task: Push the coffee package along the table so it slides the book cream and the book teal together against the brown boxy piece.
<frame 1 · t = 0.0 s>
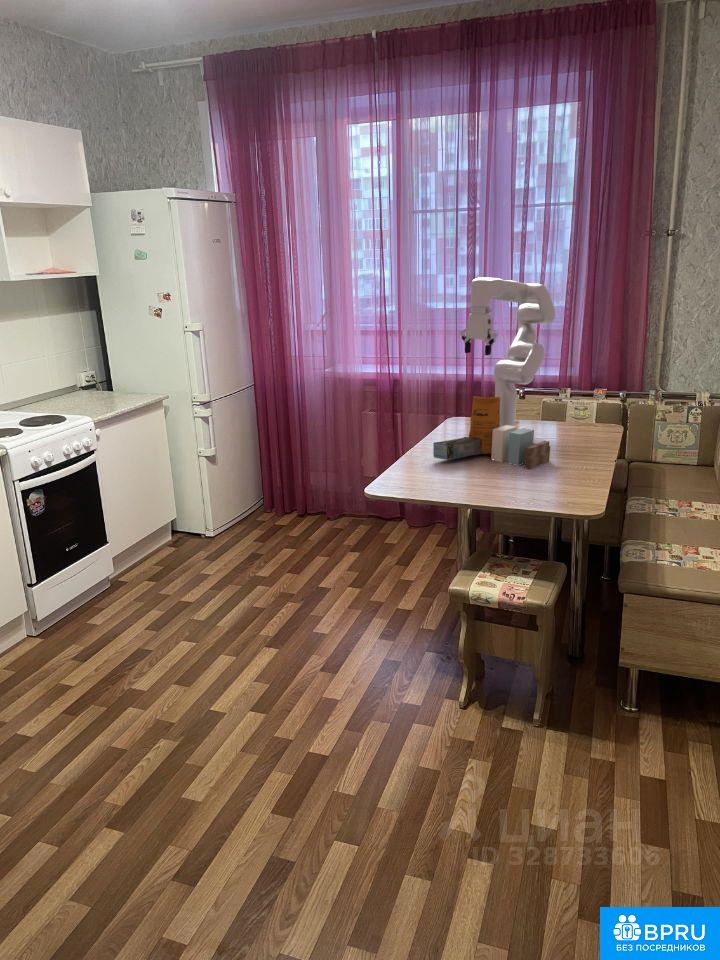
hand: (477, 353, 301), 37 cm above the table, tool pointing down, fingers open, 9 cm apart
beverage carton: (457, 456, 284), point 1 cm above the table, touching coffee package
coffee package: (483, 452, 292), point 1 cm above the table, touching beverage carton
book cream: (503, 458, 287), on the table
book teal: (519, 461, 282), on the table
brown boxy piece: (517, 461, 282), on the table
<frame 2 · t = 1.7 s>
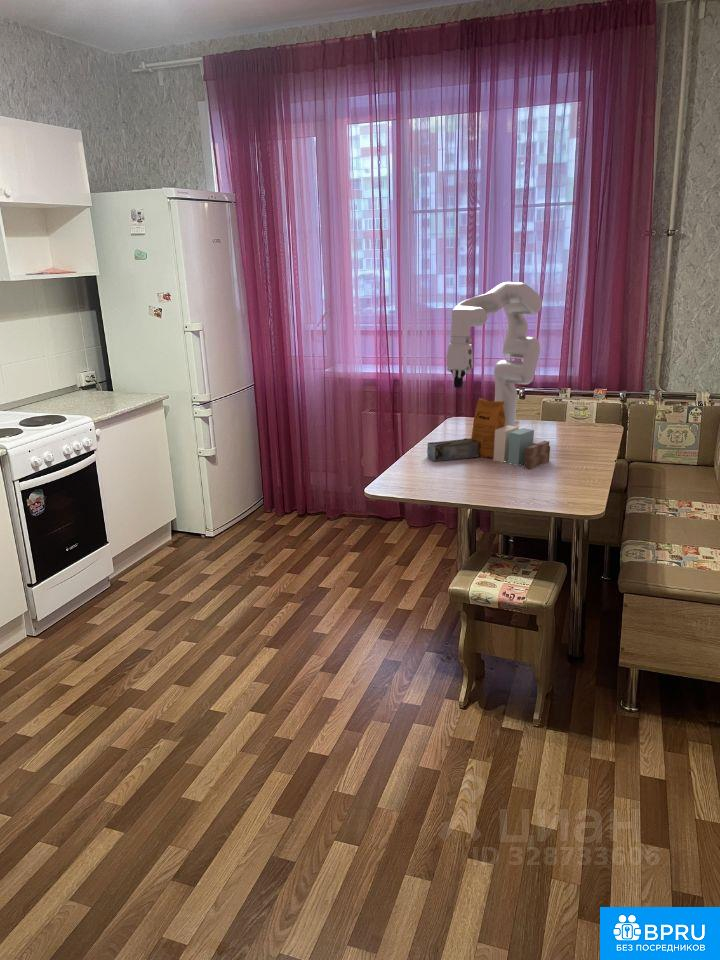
hand: (458, 387, 294), 25 cm above the table, tool pointing down, fingers closed
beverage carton: (452, 457, 287), on the table, touching coffee package
coffee package: (486, 454, 292), on the table, touching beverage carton
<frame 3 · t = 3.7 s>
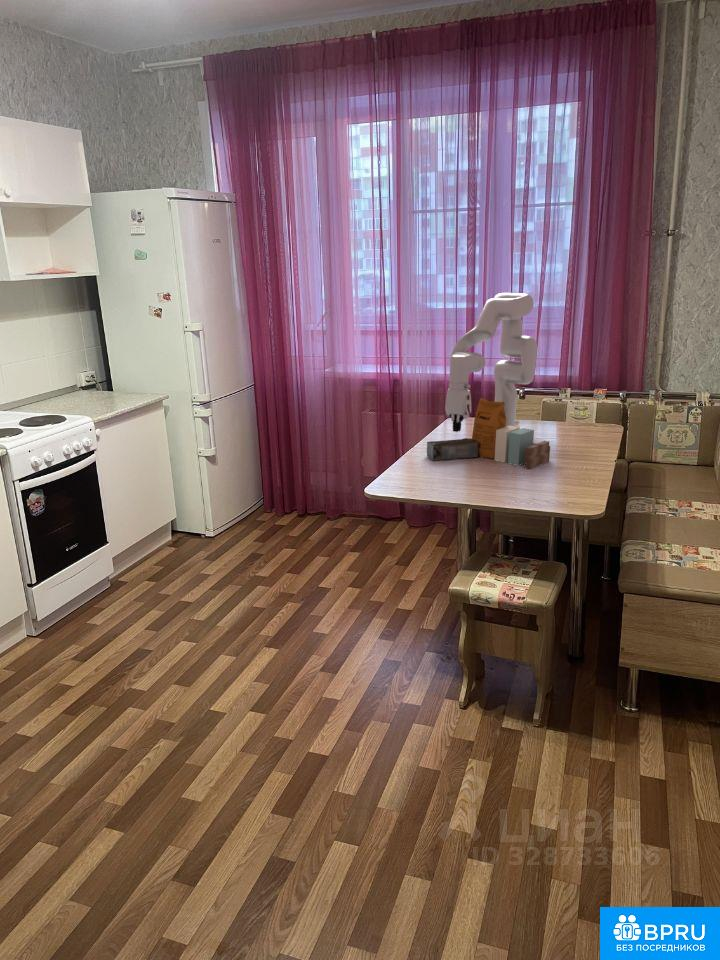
hand: (456, 430, 299), 7 cm above the table, tool pointing down, fingers closed
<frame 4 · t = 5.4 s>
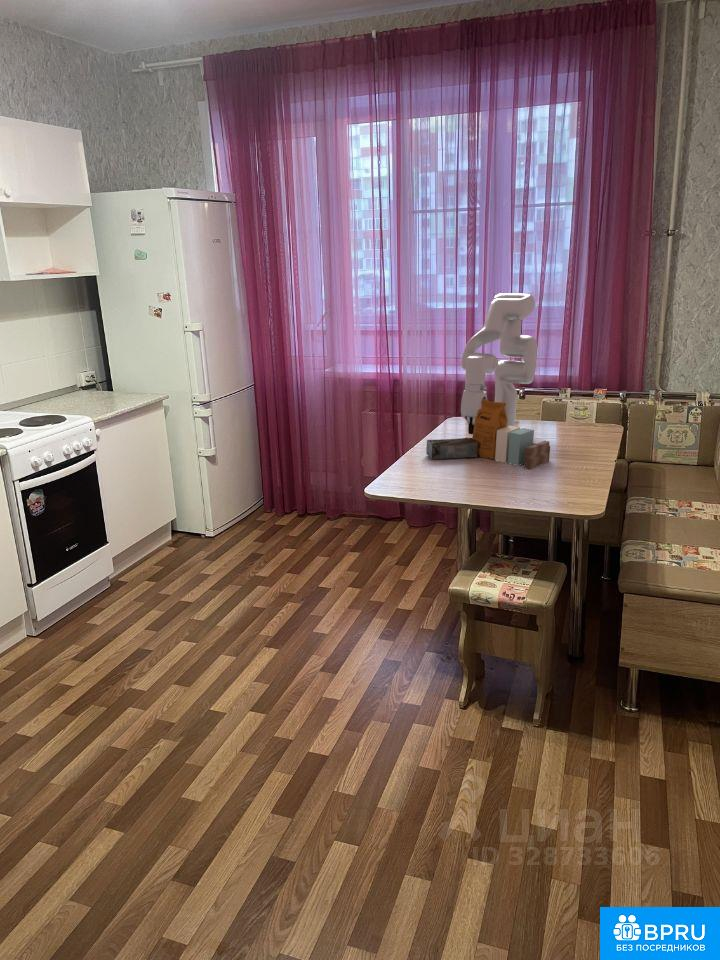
hand: (472, 433, 294), 7 cm above the table, tool pointing down, fingers closed
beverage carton: (451, 456, 288), on the table, touching coffee package
coffee package: (487, 455, 291), on the table, touching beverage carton, gripper
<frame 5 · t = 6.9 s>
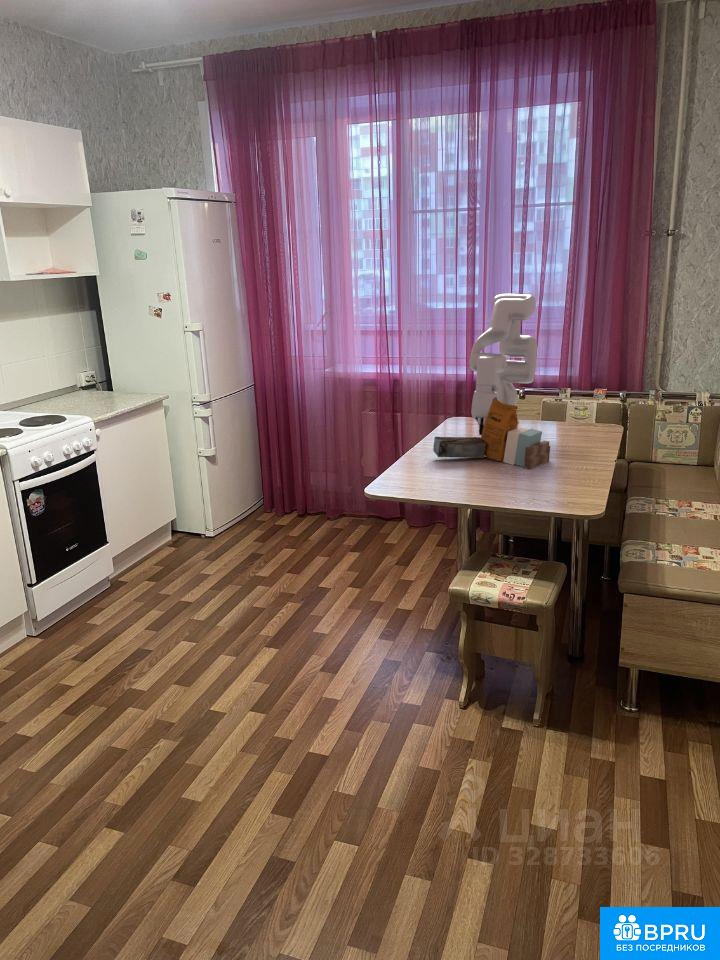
hand: (483, 434, 290), 8 cm above the table, tool pointing down, fingers closed
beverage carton: (458, 455, 285), point 1 cm above the table, touching coffee package
coffee package: (494, 456, 287), point 1 cm above the table, touching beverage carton, book cream, gripper
book cream: (514, 460, 282), on the table, tilted 6°, touching book teal, coffee package
book teal: (525, 462, 280), on the table, tilted 6°, touching book cream, brown boxy piece
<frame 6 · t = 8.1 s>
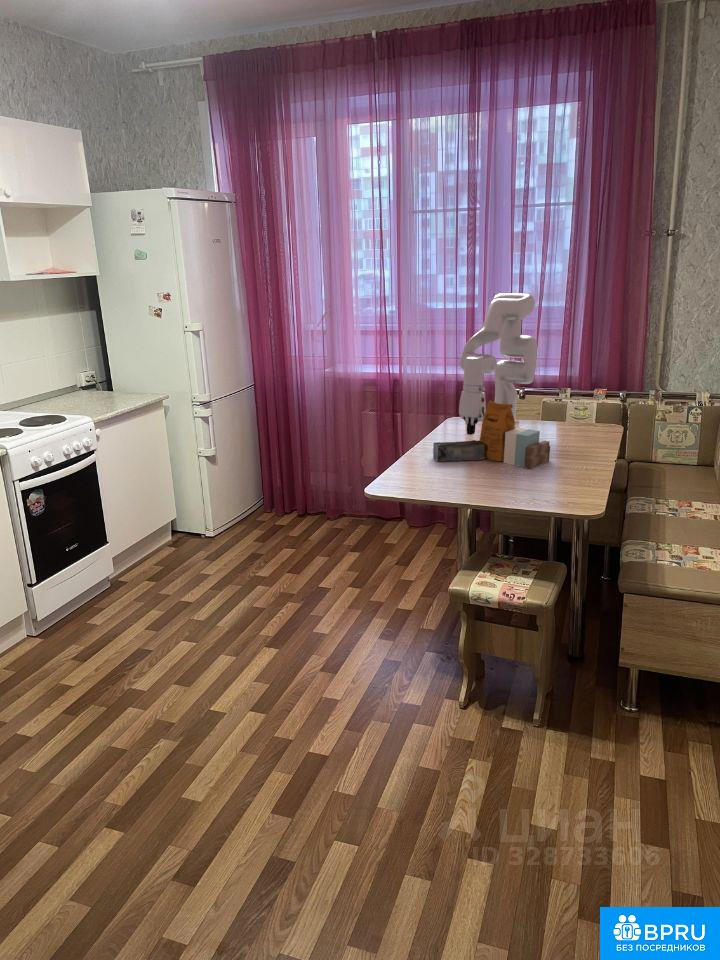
hand: (470, 433, 295), 7 cm above the table, tool pointing down, fingers closed
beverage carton: (458, 459, 286), on the table, touching coffee package
coffee package: (495, 458, 287), on the table, touching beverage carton
book cream: (515, 461, 282), on the table
book teal: (526, 463, 280), on the table
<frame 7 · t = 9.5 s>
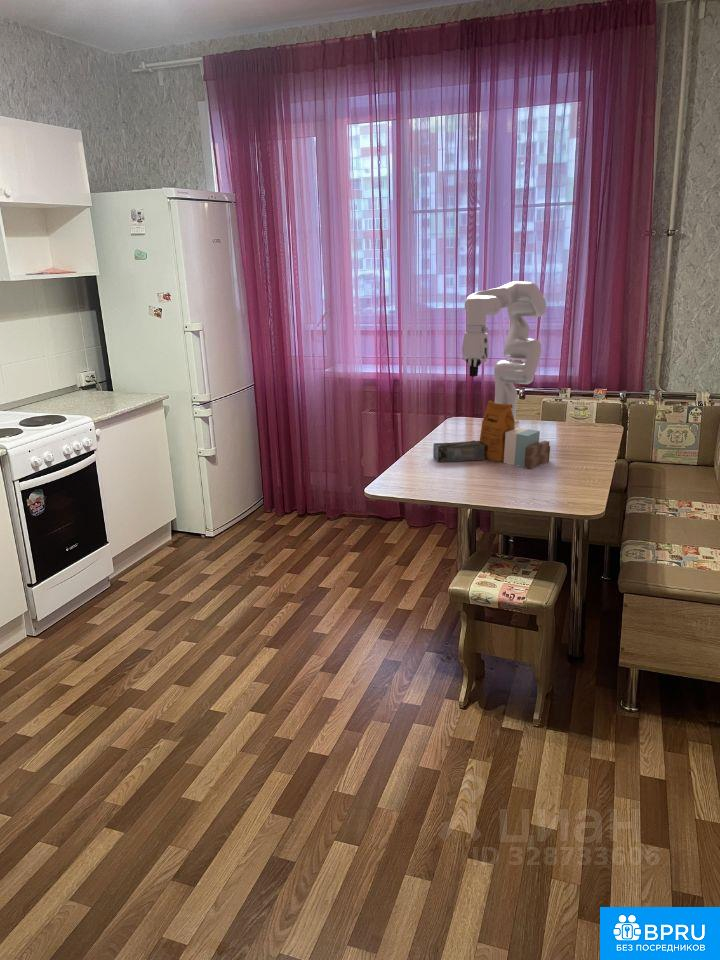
hand: (473, 376, 295), 29 cm above the table, tool pointing down, fingers closed
nothing on the table moved.
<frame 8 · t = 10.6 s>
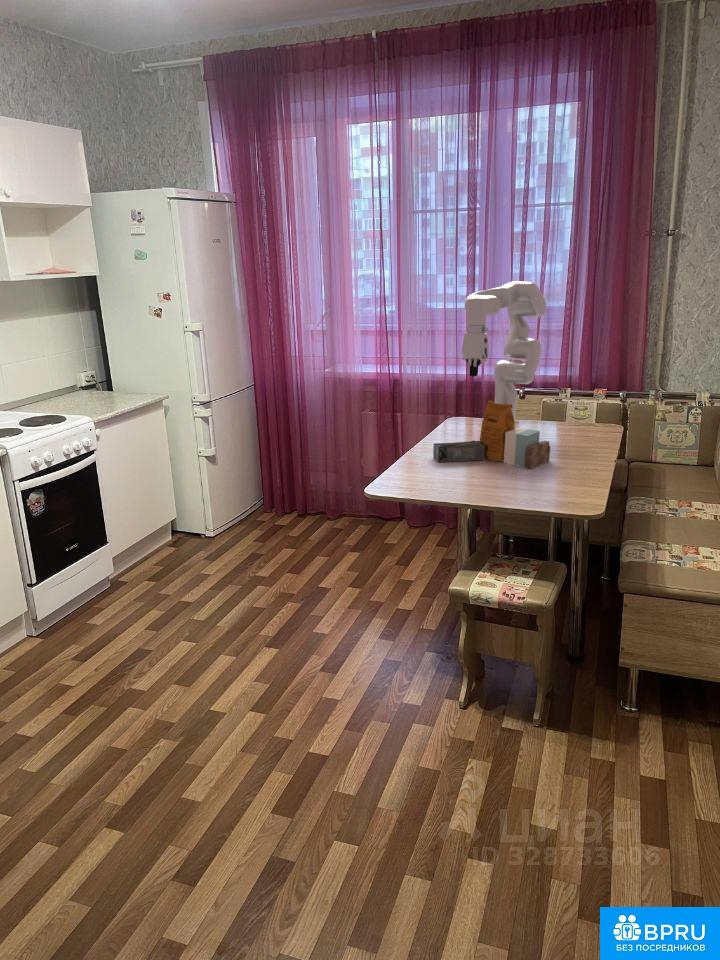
hand: (473, 375, 295), 29 cm above the table, tool pointing down, fingers closed
nothing on the table moved.
at the end: book teal inside the target area on the brown boxy piece (0.7 cm from its centre), point 0.0 cm above the brown boxy piece's base; book cream 4.5 cm from the book teal (horizontally); coffee package moved 6.3 cm from its start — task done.
